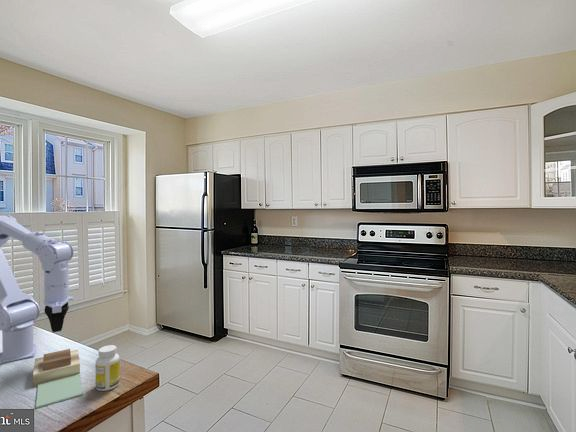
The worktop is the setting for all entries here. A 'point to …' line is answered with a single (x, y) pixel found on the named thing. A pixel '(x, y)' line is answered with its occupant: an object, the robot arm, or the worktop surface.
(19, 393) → the worktop surface
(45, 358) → the walnut coaster
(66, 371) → the birch board
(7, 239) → the robot arm
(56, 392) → the green mat
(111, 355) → the supplement bottle
